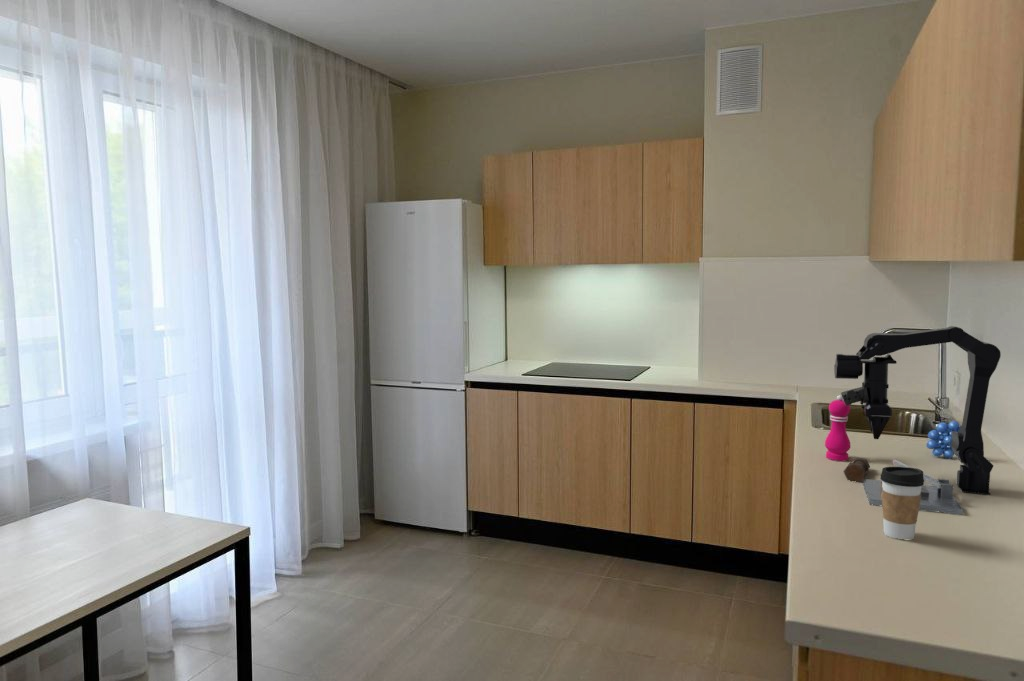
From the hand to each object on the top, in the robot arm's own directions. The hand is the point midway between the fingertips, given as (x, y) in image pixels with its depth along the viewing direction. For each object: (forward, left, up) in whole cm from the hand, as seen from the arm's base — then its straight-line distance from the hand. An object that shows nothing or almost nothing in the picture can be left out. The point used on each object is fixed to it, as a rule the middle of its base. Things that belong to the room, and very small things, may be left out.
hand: (874, 435), depth 193 cm
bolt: (+3, -5, -14) cm, 15 cm away
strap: (-10, +12, -8) cm, 17 cm away
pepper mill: (+8, -22, -13) cm, 27 cm away
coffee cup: (-1, +42, -13) cm, 44 cm away
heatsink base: (-7, +13, -13) cm, 20 cm away
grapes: (-24, -36, -13) cm, 46 cm away
